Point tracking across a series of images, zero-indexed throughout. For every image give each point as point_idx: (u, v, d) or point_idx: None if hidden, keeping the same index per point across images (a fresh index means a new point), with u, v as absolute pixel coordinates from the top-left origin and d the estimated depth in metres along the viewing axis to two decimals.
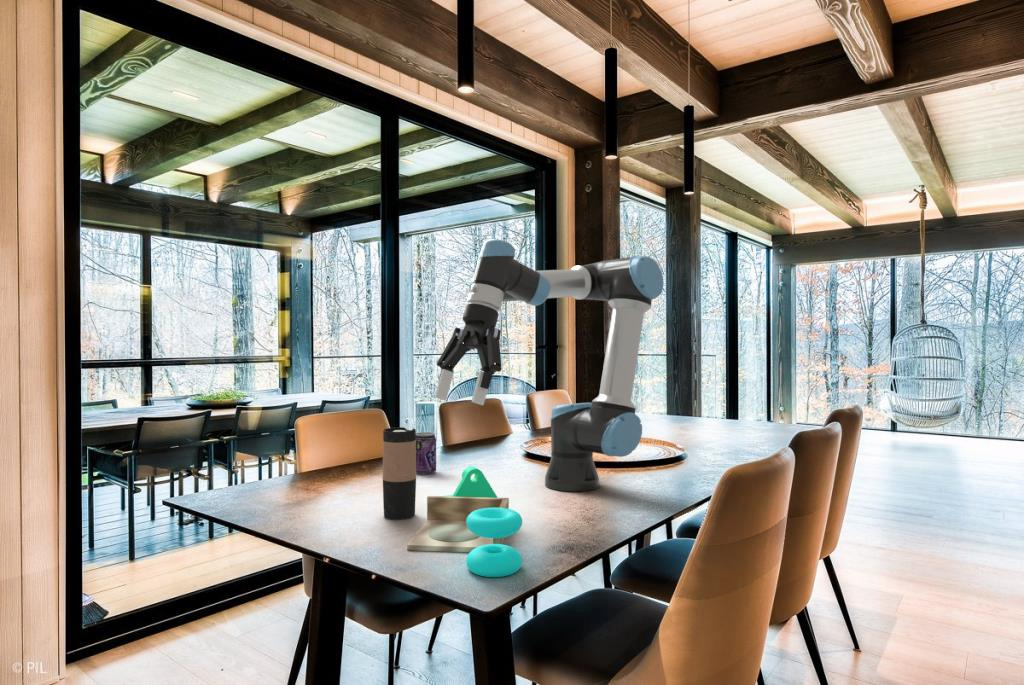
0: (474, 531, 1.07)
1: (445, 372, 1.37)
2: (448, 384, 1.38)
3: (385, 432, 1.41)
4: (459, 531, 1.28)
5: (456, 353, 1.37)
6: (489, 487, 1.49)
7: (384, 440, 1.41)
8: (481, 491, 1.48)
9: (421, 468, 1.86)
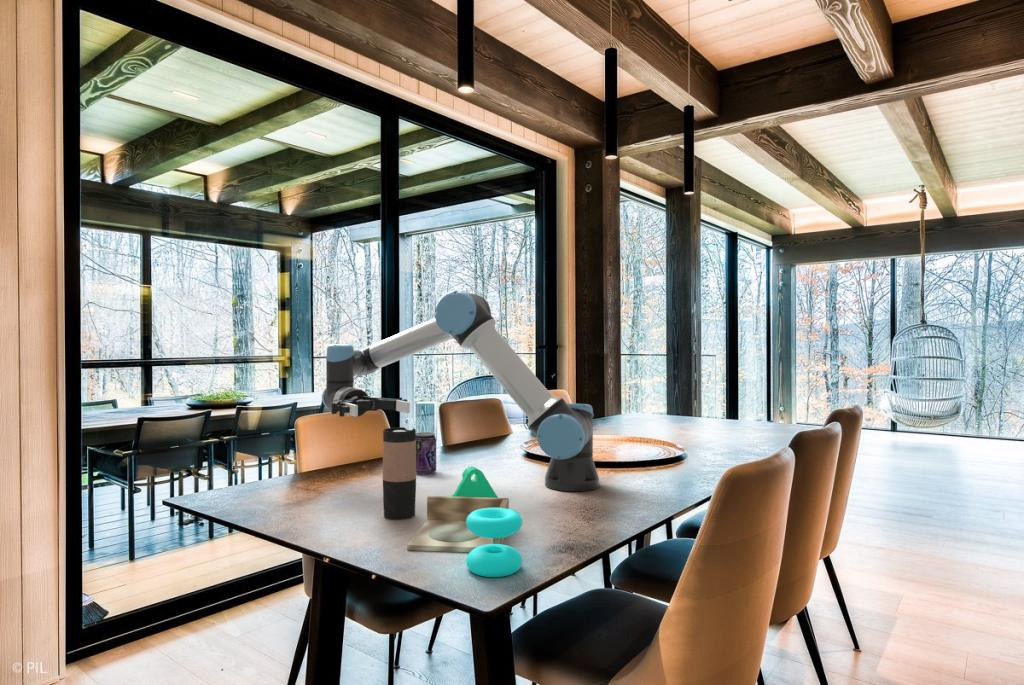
0: (474, 531, 1.07)
1: (397, 408, 1.60)
2: (400, 403, 1.58)
3: (385, 432, 1.41)
4: (459, 531, 1.28)
5: (382, 407, 1.62)
6: (489, 487, 1.49)
7: (384, 440, 1.41)
8: (482, 491, 1.48)
9: (421, 468, 1.86)
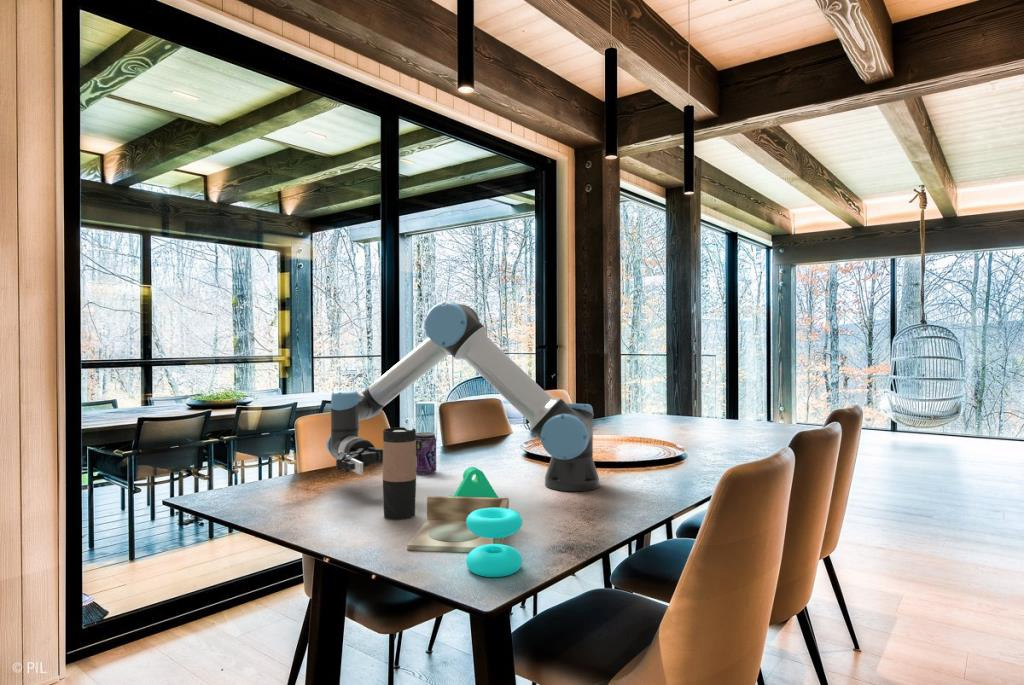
0: (474, 531, 1.07)
1: None
2: None
3: (385, 432, 1.41)
4: (459, 531, 1.28)
5: None
6: (490, 488, 1.48)
7: (384, 440, 1.41)
8: (482, 492, 1.47)
9: (421, 468, 1.86)
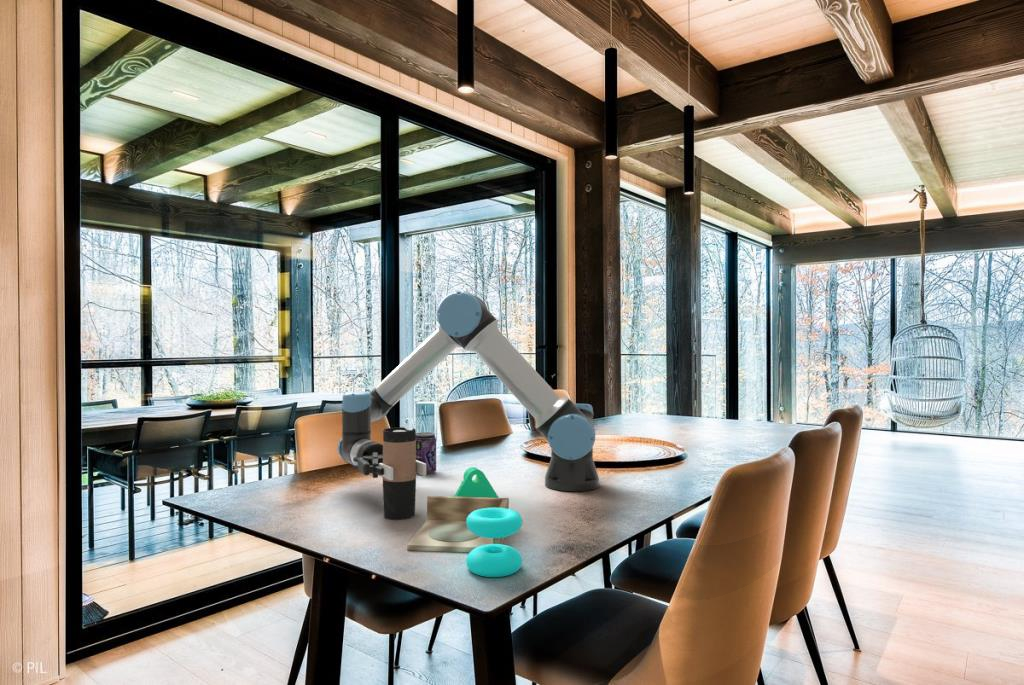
0: (474, 531, 1.07)
1: None
2: (416, 463, 1.44)
3: (385, 432, 1.41)
4: (459, 531, 1.28)
5: None
6: (491, 488, 1.48)
7: (384, 440, 1.41)
8: (483, 492, 1.47)
9: None
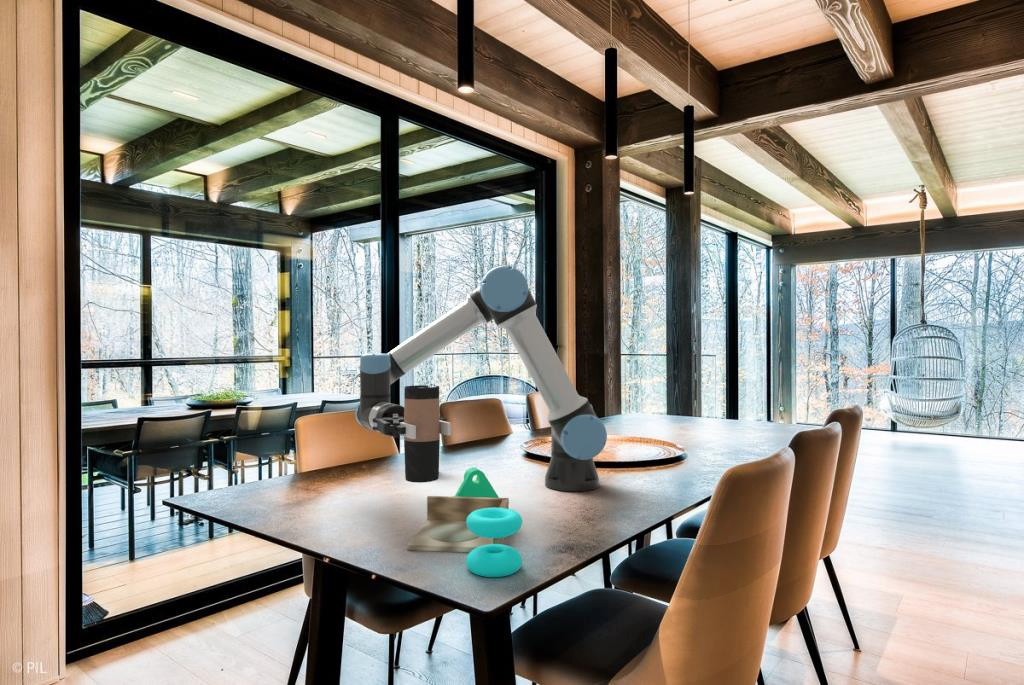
0: (474, 531, 1.07)
1: None
2: (440, 423, 1.34)
3: (406, 388, 1.31)
4: (459, 531, 1.28)
5: None
6: (491, 488, 1.47)
7: (405, 397, 1.31)
8: (483, 492, 1.47)
9: None
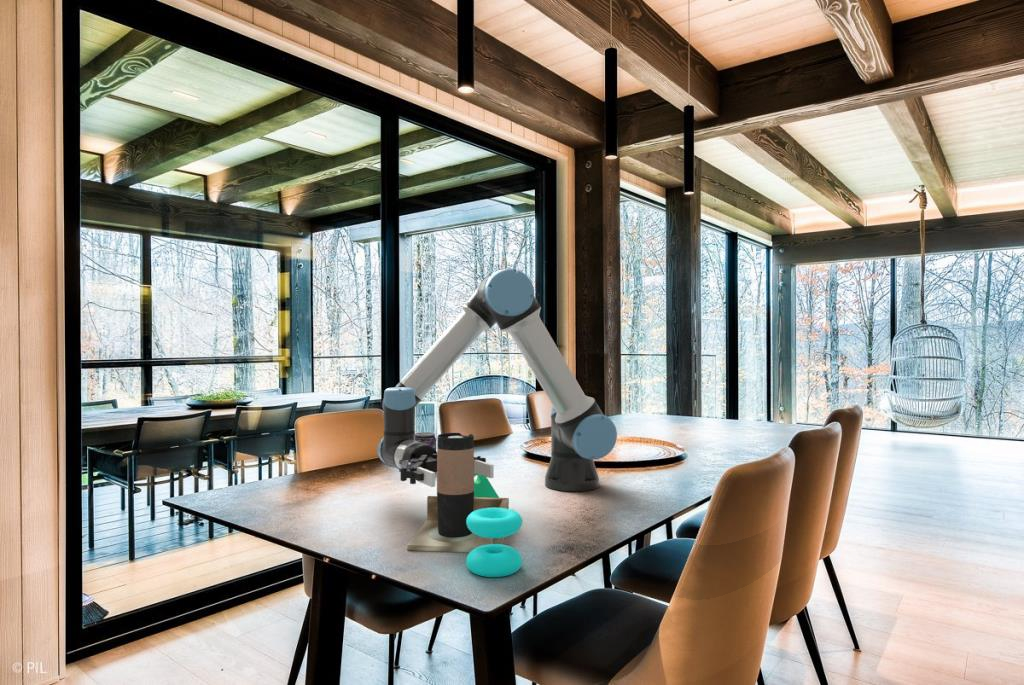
0: (474, 531, 1.07)
1: (475, 470, 1.33)
2: (481, 464, 1.31)
3: (440, 438, 1.25)
4: None
5: None
6: (492, 489, 1.47)
7: (439, 447, 1.25)
8: (484, 493, 1.46)
9: None
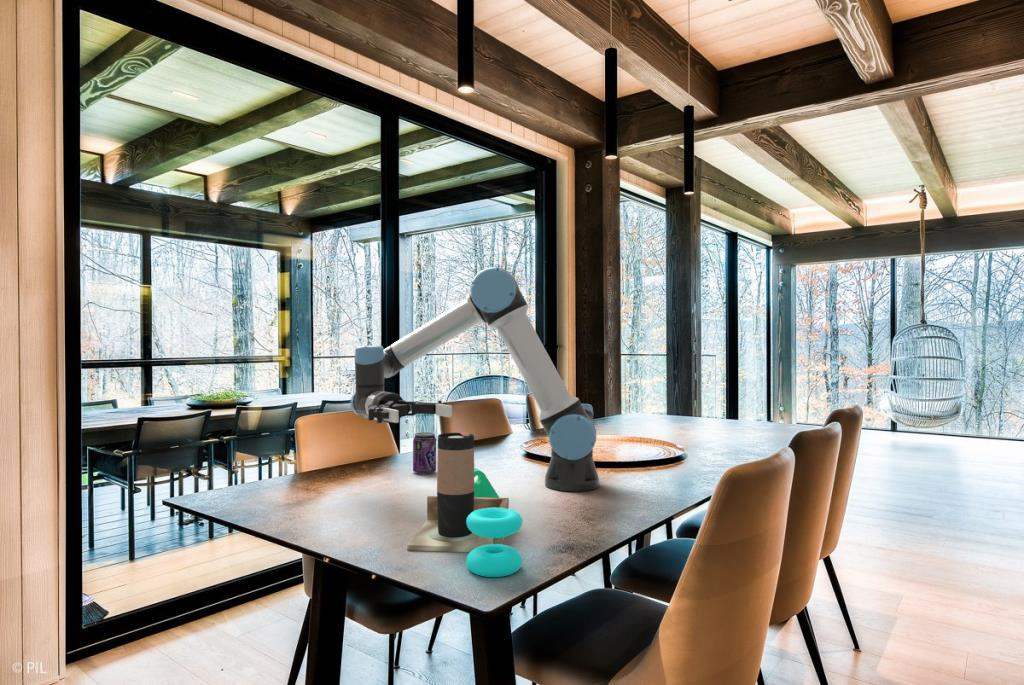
0: (474, 531, 1.07)
1: (437, 412, 1.48)
2: (441, 406, 1.46)
3: (441, 438, 1.25)
4: None
5: (420, 412, 1.51)
6: (492, 489, 1.46)
7: (439, 447, 1.25)
8: (484, 493, 1.46)
9: (421, 468, 1.86)
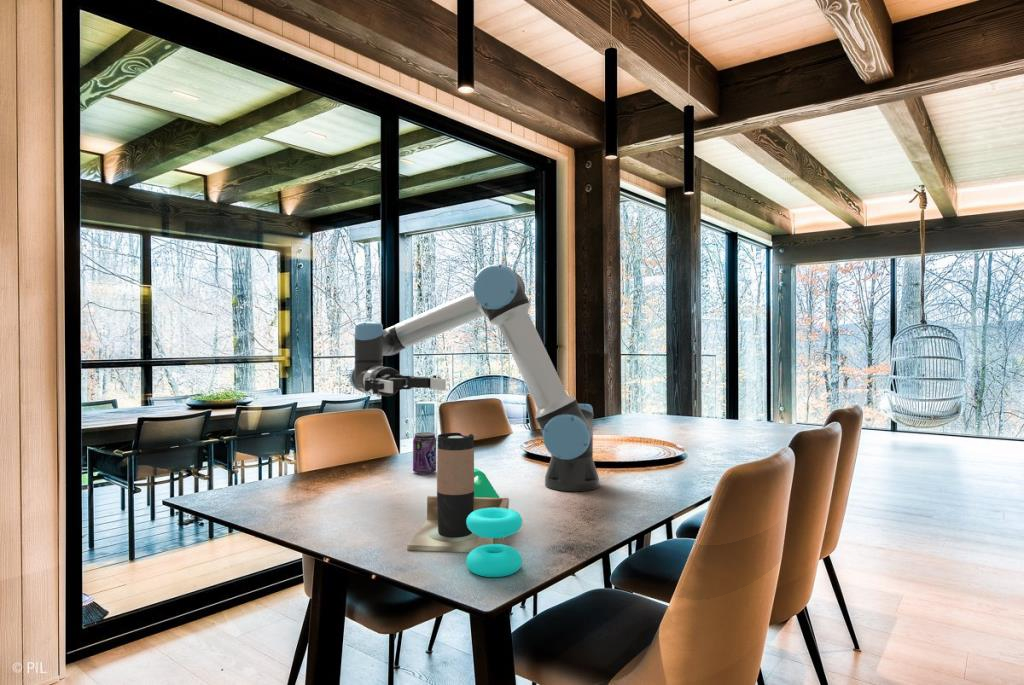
0: (474, 531, 1.07)
1: (431, 386, 1.53)
2: (435, 380, 1.51)
3: (440, 438, 1.25)
4: None
5: (415, 385, 1.55)
6: (492, 490, 1.46)
7: (439, 447, 1.25)
8: (484, 494, 1.45)
9: (421, 468, 1.86)
